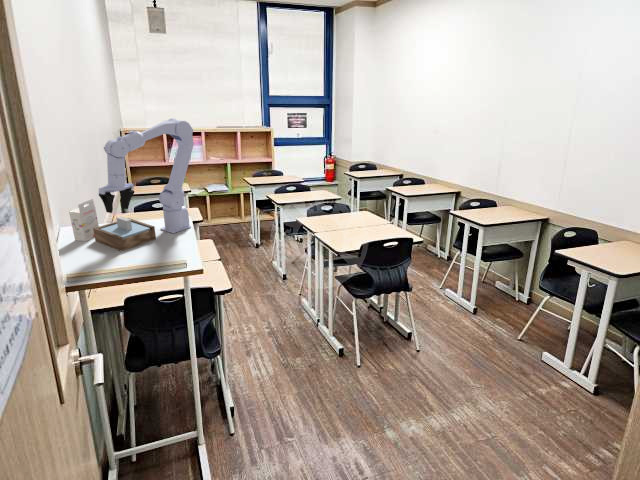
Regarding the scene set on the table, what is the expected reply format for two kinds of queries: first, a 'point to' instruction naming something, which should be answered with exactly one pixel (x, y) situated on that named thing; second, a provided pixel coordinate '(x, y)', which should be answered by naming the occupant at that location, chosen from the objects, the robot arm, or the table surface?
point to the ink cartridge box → (84, 221)
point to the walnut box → (126, 243)
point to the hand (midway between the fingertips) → (117, 210)
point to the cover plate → (126, 233)
